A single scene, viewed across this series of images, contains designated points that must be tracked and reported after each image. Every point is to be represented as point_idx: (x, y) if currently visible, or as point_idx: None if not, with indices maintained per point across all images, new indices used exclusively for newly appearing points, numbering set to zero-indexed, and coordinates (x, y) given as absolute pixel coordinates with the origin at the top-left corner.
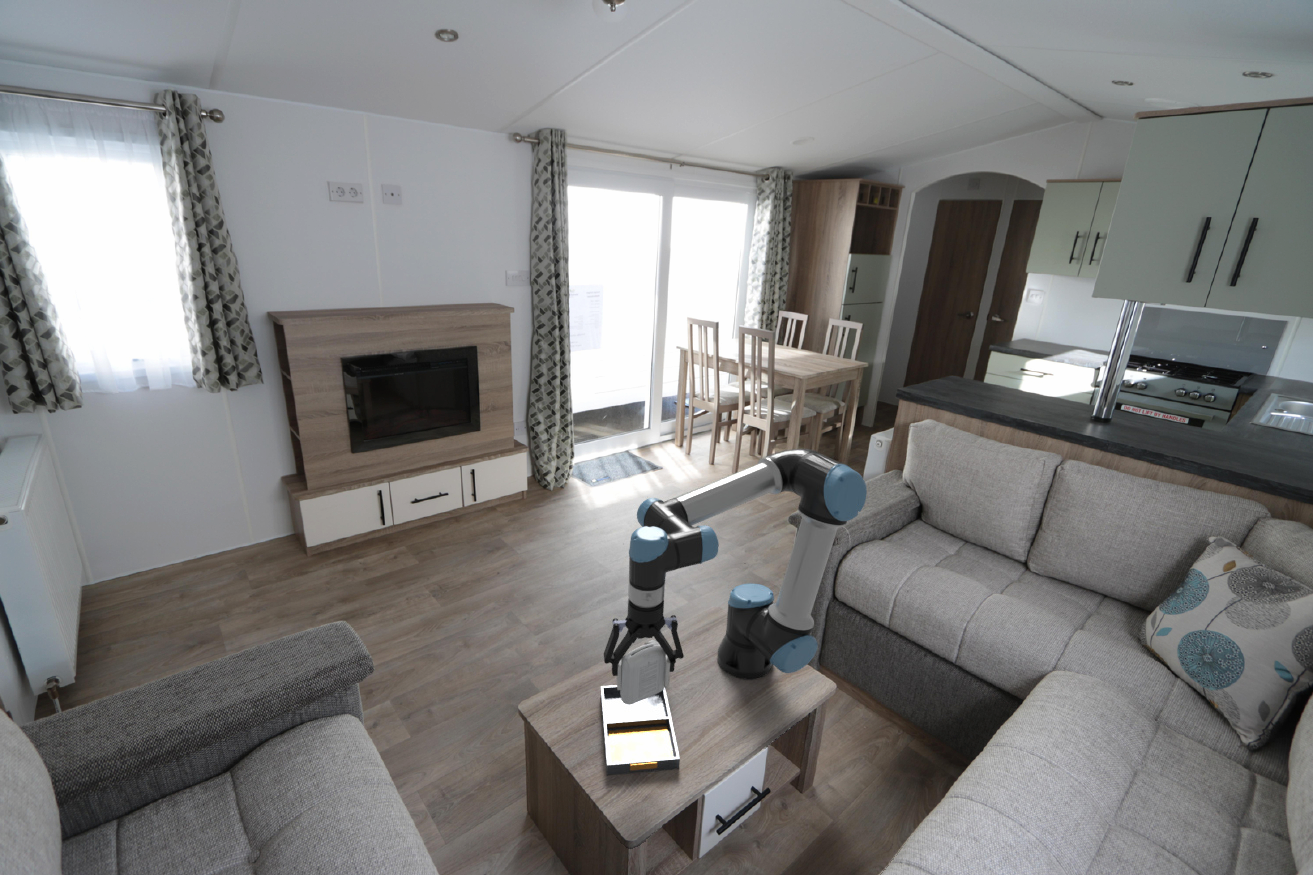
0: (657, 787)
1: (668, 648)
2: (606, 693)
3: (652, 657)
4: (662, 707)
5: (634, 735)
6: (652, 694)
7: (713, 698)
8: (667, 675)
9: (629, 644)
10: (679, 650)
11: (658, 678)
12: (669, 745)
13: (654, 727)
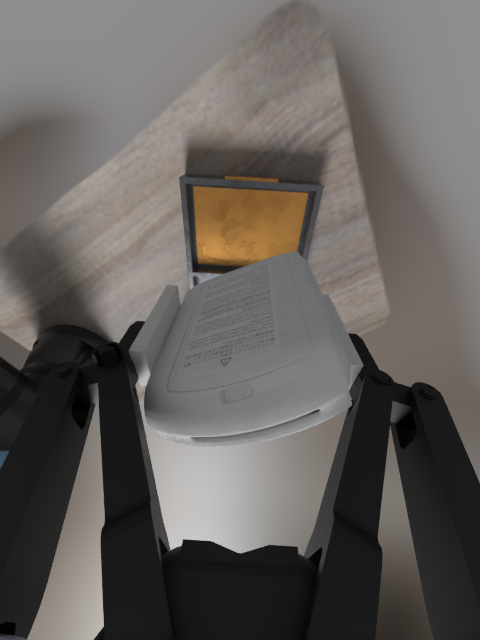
0: (231, 133)
1: (102, 425)
2: None
3: (204, 383)
4: None
5: (253, 254)
6: (220, 276)
7: (123, 304)
8: (159, 310)
9: (350, 494)
10: (48, 404)
11: (195, 309)
12: (197, 223)
13: (218, 264)
